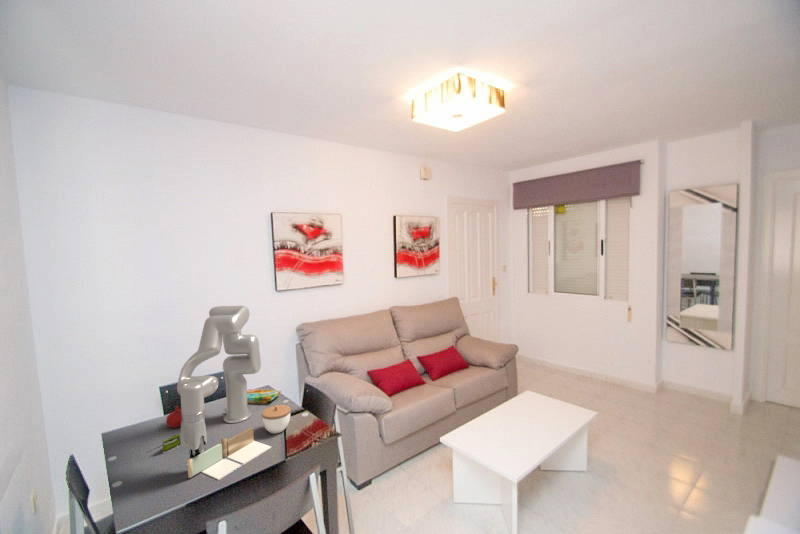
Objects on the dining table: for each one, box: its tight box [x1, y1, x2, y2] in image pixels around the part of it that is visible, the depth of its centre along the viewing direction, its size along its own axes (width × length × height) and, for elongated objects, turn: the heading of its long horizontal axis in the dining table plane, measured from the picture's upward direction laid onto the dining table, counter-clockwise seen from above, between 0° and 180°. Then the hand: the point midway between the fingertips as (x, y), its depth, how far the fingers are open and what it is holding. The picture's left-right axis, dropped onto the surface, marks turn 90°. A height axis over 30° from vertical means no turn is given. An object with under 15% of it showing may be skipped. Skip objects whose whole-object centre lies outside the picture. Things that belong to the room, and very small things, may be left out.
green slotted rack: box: [147, 432, 181, 454], centre depth 149 cm, size 7×19×10 cm
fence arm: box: [186, 442, 223, 479], centre depth 134 cm, size 2×13×6 cm, turn 153°
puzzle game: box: [247, 388, 282, 405], centre depth 198 cm, size 12×5×20 cm
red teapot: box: [165, 405, 182, 429], centre depth 171 cm, size 10×10×9 cm
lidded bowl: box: [261, 404, 291, 435], centre depth 164 cm, size 13×13×11 cm
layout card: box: [186, 440, 272, 481], centre depth 143 cm, size 20×24×1 cm
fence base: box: [220, 427, 255, 458], centre depth 147 cm, size 2×14×8 cm, turn 152°
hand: (195, 463), depth 134 cm, fingers closed
